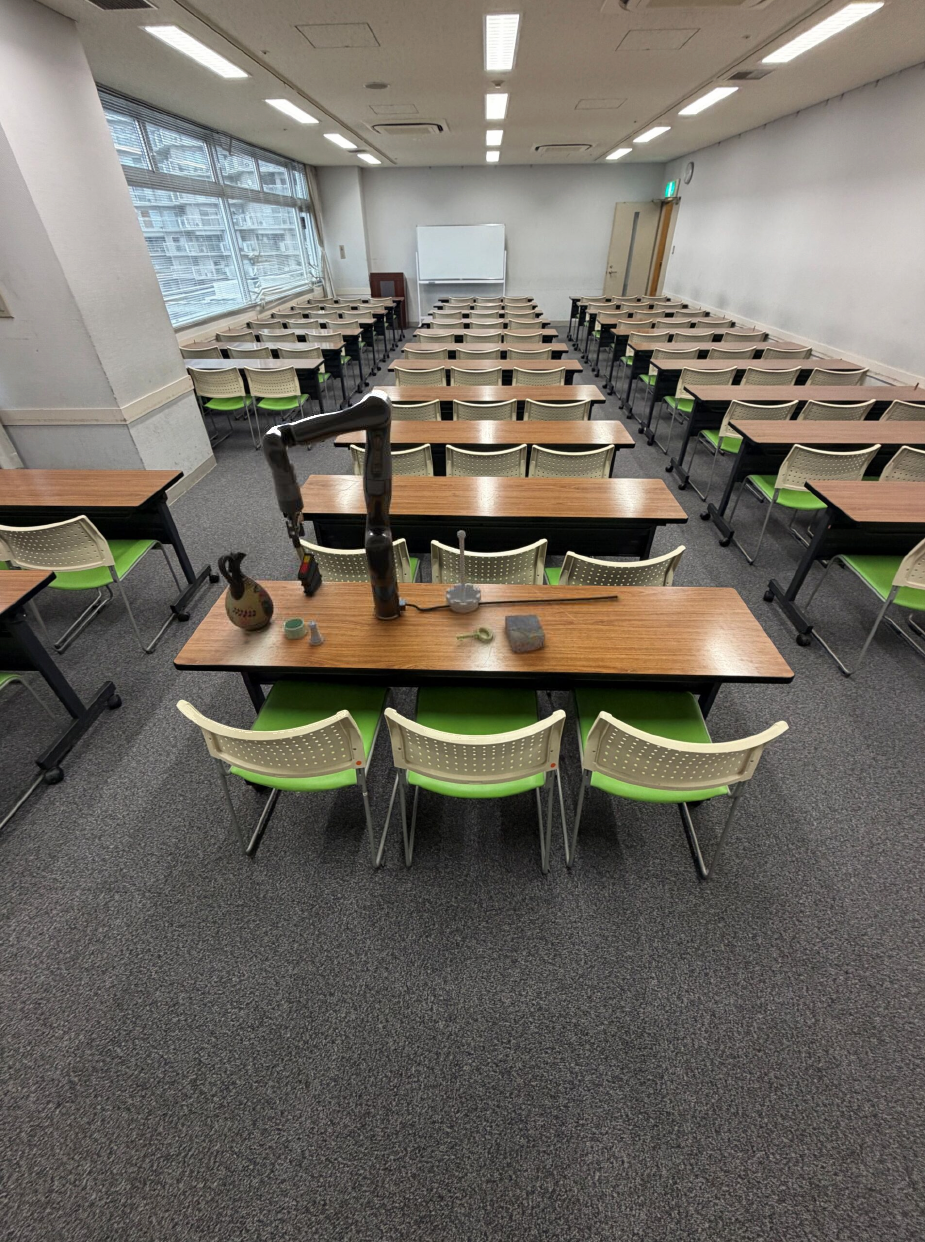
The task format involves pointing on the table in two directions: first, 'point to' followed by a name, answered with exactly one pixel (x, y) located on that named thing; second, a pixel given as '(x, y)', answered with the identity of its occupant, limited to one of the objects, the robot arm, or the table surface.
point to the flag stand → (463, 587)
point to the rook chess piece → (315, 634)
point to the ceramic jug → (245, 597)
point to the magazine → (309, 574)
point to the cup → (294, 628)
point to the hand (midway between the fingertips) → (299, 541)
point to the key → (477, 635)
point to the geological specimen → (524, 632)
